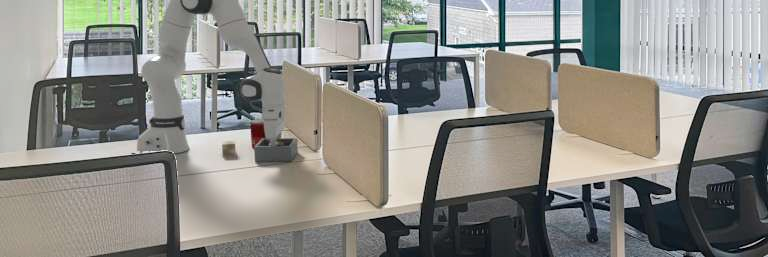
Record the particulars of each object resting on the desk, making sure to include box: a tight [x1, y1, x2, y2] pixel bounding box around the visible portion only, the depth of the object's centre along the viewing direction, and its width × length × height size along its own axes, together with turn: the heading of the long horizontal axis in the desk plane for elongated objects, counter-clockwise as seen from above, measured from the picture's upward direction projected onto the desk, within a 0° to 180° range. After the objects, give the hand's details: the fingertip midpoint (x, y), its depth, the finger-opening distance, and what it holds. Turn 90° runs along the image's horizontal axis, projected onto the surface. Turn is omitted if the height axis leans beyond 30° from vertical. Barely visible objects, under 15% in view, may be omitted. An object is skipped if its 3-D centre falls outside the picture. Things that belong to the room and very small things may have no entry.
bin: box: [253, 137, 299, 163], centre depth 278 cm, size 14×14×6 cm
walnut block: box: [268, 142, 284, 146], centre depth 278 cm, size 5×5×5 cm
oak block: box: [221, 140, 237, 158], centre depth 284 cm, size 5×5×5 cm
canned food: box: [250, 118, 266, 149], centre depth 295 cm, size 8×8×11 cm
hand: (276, 145), depth 277 cm, fingers open, 8 cm apart
